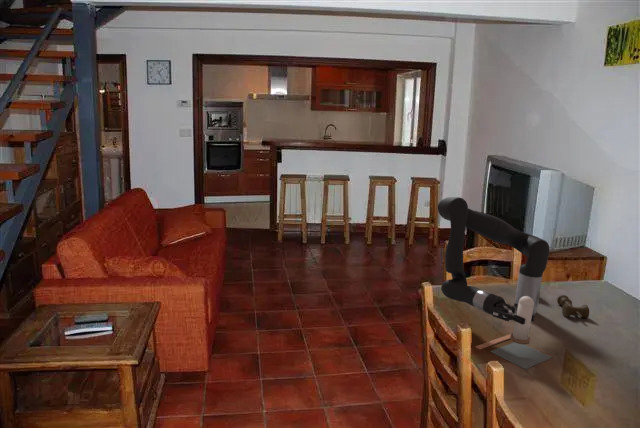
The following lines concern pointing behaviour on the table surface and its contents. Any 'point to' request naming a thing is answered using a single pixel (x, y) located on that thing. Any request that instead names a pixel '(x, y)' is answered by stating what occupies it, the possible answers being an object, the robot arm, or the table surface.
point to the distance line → (493, 342)
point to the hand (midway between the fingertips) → (529, 320)
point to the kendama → (572, 308)
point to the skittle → (526, 312)
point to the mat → (521, 355)
